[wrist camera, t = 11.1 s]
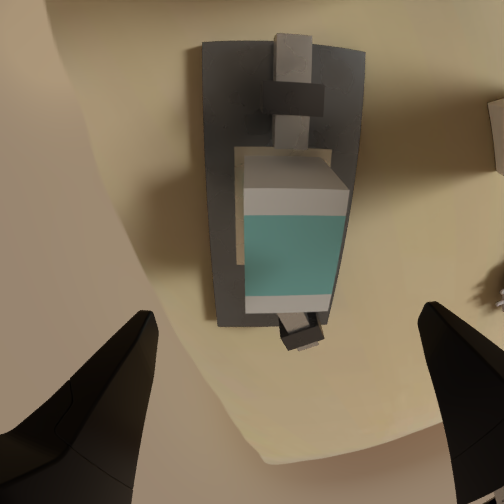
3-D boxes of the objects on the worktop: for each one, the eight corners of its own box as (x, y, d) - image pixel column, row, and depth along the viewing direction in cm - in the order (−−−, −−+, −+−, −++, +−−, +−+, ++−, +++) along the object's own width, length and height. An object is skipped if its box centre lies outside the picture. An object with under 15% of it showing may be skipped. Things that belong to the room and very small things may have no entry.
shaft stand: (359, 53, 14) (388, 48, 10) (324, 316, 25) (334, 351, 21) (204, 44, 14) (192, 34, 10) (218, 317, 25) (215, 355, 21)
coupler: (310, 255, 20) (327, 311, 15) (245, 256, 20) (245, 313, 15) (320, 157, 16) (349, 190, 12) (244, 155, 16) (243, 188, 12)
